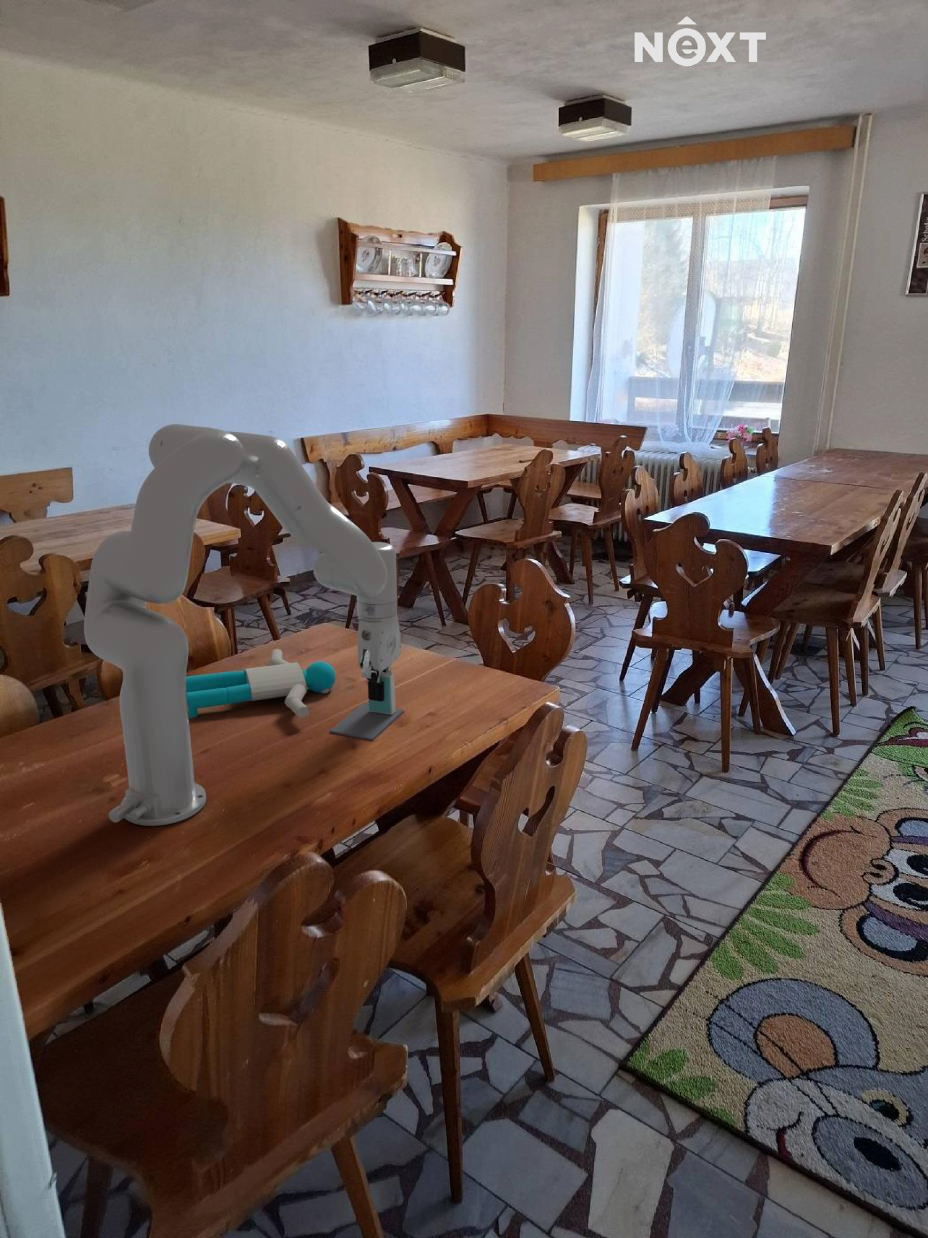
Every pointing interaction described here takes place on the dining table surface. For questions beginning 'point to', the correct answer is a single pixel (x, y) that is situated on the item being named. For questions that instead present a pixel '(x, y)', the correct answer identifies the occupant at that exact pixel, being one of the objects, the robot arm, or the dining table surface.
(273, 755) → the dining table surface
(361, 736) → the mat
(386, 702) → the slab
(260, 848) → the dining table surface
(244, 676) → the toy
